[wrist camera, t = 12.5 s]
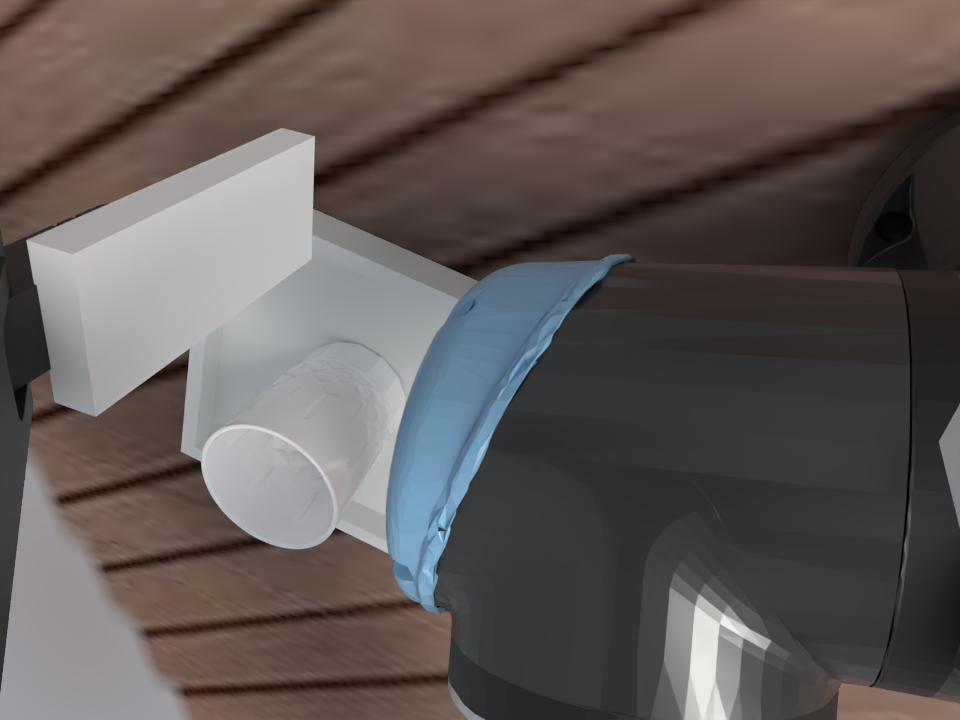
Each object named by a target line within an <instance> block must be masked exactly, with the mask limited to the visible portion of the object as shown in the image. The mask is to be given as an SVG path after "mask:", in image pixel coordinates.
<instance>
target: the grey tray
mask: <svg viewBox="0 0 960 720" xmlns="http://www.w3.org/2000/svg"><path fill="white" fill-rule="evenodd" d="M478 282H479V281H477V280H474V279H472V278H470V277H468V276H465V275H463V274H461V273H459V272H456V271H454V270H452V269H449V268H447V267H445V266H443V265H440V264H438V263H436V262H434V261H431V260H429V259H427V258H424V257H422V256H420V255H418V254H415V253H413V252H411V251H408V250H406V249H404V248H402V247H399V246H397V245H395V244H393V243H390V242H388V241H386V240H383V239H381V238H379V237H377V236H374V235H372V234H370V233H368V232H365V231H363V230H361V229H358V228H356V227H354V226H352V225H349V224H347V223H345V222H342V221H340V220H338V219H336V218H333V217H331V216H329V215H327V214H324V213H322V212H320V211H317V210H315V209H313V223H312V258H311V260H310V261H308V262H307V263H306V264H304V265H303V266H302V267H300V268H299V269H297V270H296V271H295V272H293V273H292V274H291V275H289V276H288V277H287V278H285V279H284V280H282V281H281V282H280V283H278V284H277V285H276V286H274V287H273V288H272V289H270V290H269V291H267V292H266V293H265V294H263V295H262V296H261V297H259V298H258V299H256V300H255V301H254V302H252V303H251V304H250V305H248V306H247V307H246V308H244V309H243V310H241V311H240V312H239V313H237V314H236V315H235V316H233V317H232V318H231V319H229V320H228V321H226V322H225V323H224V324H222V325H221V326H220V327H218V328H217V329H215V330H214V331H213V332H211V333H210V334H209V335H207V336H206V337H205V338H203V339H202V340H200V341H199V342H198V343H196V344H195V345H194V346H192V347H191V348H190V354H189V365H188V376H187V388H186V399H185V410H184V421H183V433H182V444H181V452H183V453H185V454H187V455H189V456H191V457H193V458H195V459H197V460H199V461H201V455H202V450H203V447H204V445H205V443H206V441H207V440H208V438H209V437H210V436H211V435H212V434H213V433H214V432H215V431H217V430H218V429H219V428H220V427H221V426H223V425H224V424H225V423H226V422H227V421H229V420H230V419H231V418H232V417H233V416H235V415H236V414H237V413H238V412H239V411H240V410H242V409H243V408H244V407H245V406H246V405H247V404H249V403H250V402H251V401H252V400H253V399H254V398H256V397H257V396H258V395H259V394H260V393H261V392H263V391H264V390H265V389H266V388H267V387H269V386H270V385H271V384H273V383H274V382H276V381H277V380H278V379H279V378H280V377H281V376H283V375H284V374H285V373H286V372H288V371H289V370H291V369H292V368H294V367H295V366H297V365H299V364H300V363H301V362H302V361H303V360H304V359H305V358H307V357H308V356H309V355H310V354H311V353H312V352H313V351H315V350H316V349H317V348H319V347H322V346H325V345H328V344H331V343H333V342H336V341H339V342H346V343H353V344H360V345H362V346H364V347H365V348H367V349H369V350H371V351H372V352H374V353H376V354H378V355H379V356H381V357H382V358H383V359H384V360H385V361H386V362H387V364H388V365H389V366H390V367H391V368H392V369H393V371H394V372H395V373H396V374H397V375H398V377H399V380H400V383H401V386H402V389H403V392H404V394H405V398H406V400H405V405H406V402H407V398H408V396H409V393H410V390H411V387H412V384H413V382H414V379H415V377H416V374H417V372H418V369H419V367H420V365H421V362H422V360H423V358H424V356H425V354H426V352H427V350H428V348H429V346H430V344H431V342H432V340H433V338H434V336H435V334H436V333H437V331H438V330H440V328H441V327H442V326H443V325H444V323H445V322H446V320H447V318H448V316H449V315H450V313H451V311H452V310H453V308H454V306H455V305H456V303H457V302H458V301H459V300H460V299H461V298H462V297H463V296H464V295H465V294H466V293H467V292H468V291H469V290H470V289H471V288H472V287H473V286H474V285H475V284H476V283H478ZM404 408H405V406H404ZM399 426H400V423H399V425H398V426H397V428H396V429H395V431H394V432H393V434H392V435H391V437H390V438H389V440H388V442H387V444H386V446H385V448H384V451H383V453H382V454H381V456H380V458H379V459H378V461H377V463H376V464H375V465H374V467H373V469H372V471H371V473H370V474H369V476H368V478H367V479H366V481H365V482H364V484H363V486H362V487H361V489H360V490H359V492H358V493H357V495H356V496H355V498H354V499H353V501H352V502H351V504H350V506H349V507H348V509H347V510H346V512H345V513H344V515H343V516H342V518H341V519H340V521H339V523H338V524H337V526H336V527H335V528H337V529H339V530H341V531H344V532H346V533H348V534H350V535H352V536H354V537H356V538H358V539H360V540H362V541H364V542H366V543H368V544H370V545H372V546H374V547H376V548H378V549H380V550H382V551H384V552H386V553H388V549H387V538H386V498H387V488H388V481H389V474H390V467H391V461H392V457H393V452H394V447H395V442H396V437H397V433H398V429H399ZM388 554H389V553H388Z"/></svg>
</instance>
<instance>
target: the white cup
mask: <svg viewBox="0 0 960 720" xmlns="http://www.w3.org/2000/svg"><path fill="white" fill-rule="evenodd" d="M405 400H406V398H405V394H404V392H403V389H402V386H401V383H400V380H399V377H398V375H397V374H396V373H395V372H394V371H393V369H392V368H391V367H390V366H389V365H388V364H387V362H386V361H385V360H384V359H383V358H382V357H381V356H379V355H378V354H376V353H374V352H372V351H371V350H369V349H367V348H365V347H364V346H362V345H360V344H353V343H346V342H339V341H336V342H333V343H331V344H328V345H325V346H322V347H319V348H317V349H316V350H315V351H313V352H312V353H311V354H310V355H309V356H308V357H307V358H305V359H304V360H303V361H302V362H301V363H300V364H299V365H297V366H295V367H294V368H292V369H291V370H289V371H288V372H286V373H285V374H284V375H283V376H281V377H280V378H279V379H278V380H277V381H276V382H274V383H273V384H271V385H270V386H269V387H267V388H266V389H265V390H264V391H263V392H261V393H260V394H259V395H258V396H257V397H256V398H254V399H253V400H252V401H251V402H250V403H249V404H247V405H246V406H245V407H244V408H243V409H242V410H240V411H239V412H238V413H237V414H236V415H235V416H233V417H232V418H231V419H230V420H229V421H227V422H226V423H225V424H224V425H223V426H221V427H220V428H219V429H218V430H217V431H215V432H214V433H213V434H212V435H211V436H210V437H209V438H208V440H207V441H206V443H205V445H204V447H203V450H202V455H201V468H202V474H203V478H204V481H205V484H206V486H207V488H208V490H209V492H210V494H211V496H212V497H213V499H214V501H215V502H216V503H217V505H218V506H219V507H220V509H221V510H222V511H223V512H224V513H225V514H226V515H227V516H228V517H229V518H230V519H231V520H232V521H233V522H234V523H235V524H236V525H237V526H239V527H240V528H241V529H243V530H244V531H246V532H247V533H249V534H250V535H252V536H254V537H255V538H257V539H259V540H261V541H264V542H266V543H268V544H271V545H274V546H278V547H282V548H288V549H305V548H310V547H314V546H316V545H318V544H320V543H322V542H323V541H325V540H326V539H327V538H328V537H329V536H330V535H331V534H332V532H333V530H334V529H335V527H336V526H337V524H338V523H339V521H340V519H341V518H342V516H343V515H344V513H345V512H346V510H347V509H348V507H349V506H350V504H351V502H352V501H353V499H354V498H355V496H356V495H357V493H358V492H359V490H360V489H361V487H362V486H363V484H364V482H365V481H366V479H367V478H368V476H369V474H370V473H371V471H372V469H373V467H374V465H375V464H376V463H377V461H378V459H379V458H380V456H381V454H382V453H383V451H384V448H385V446H386V444H387V442H388V440H389V438H390V437H391V435H392V434H393V432H394V431H395V429H396V428H397V426H398V425H399V423H400V422H401V418H402V414H403V411H404V406H405Z"/></svg>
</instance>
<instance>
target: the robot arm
mask: <svg viewBox="0 0 960 720" xmlns="http://www.w3.org/2000/svg"><path fill="white" fill-rule="evenodd" d="M314 151H315V136H311V135H307V134H303V133H299V132H296V131H292V130H288V129H284V128H280V129H278V130H276V131H273V132H271V133H269V134H267V135H264V136H262V137H260V138H258V139H255V140H253V141H251V142H248V143H246V144H244V145H242V146H239V147H237V148H235V149H232V150H230V151H228V152H226V153H223V154H221V155H219V156H217V157H214V158H212V159H210V160H207V161H205V162H203V163H201V164H198V165H196V166H194V167H192V168H189V169H187V170H185V171H182V172H180V173H178V174H176V175H173V176H171V177H169V178H167V179H164V180H162V181H160V182H157V183H155V184H153V185H151V186H148V187H146V188H144V189H142V190H139V191H137V192H135V193H132V194H130V195H128V196H126V197H123V198H121V199H119V200H116V201H114V202H112V203H108V204H103V205H99V206H96V207H94V208H92V209H89V210H87V211H85V212H82V213H80V214H78V215H76V218H72V217H71V218H69V219H66V220H64V221H62V222H60V223H57V226H56V227H55V226H50V227H48V228H46V229H43V230H41V231H39V232H37V233H34V234H32V235H30V236H27V237H25V238H23V239H20V240H18V241H16V242H14V243H11V244H9V245H7V246H4V247H3V242H2V237H1V232H0V690H1V681H2V672H3V664H4V655H5V646H6V637H7V628H8V620H9V611H10V601H11V593H12V585H13V576H14V567H15V558H16V550H17V541H18V532H19V523H20V514H21V506H22V497H23V487H24V480H25V471H26V462H27V453H28V445H29V436H30V427H31V418H32V409H33V398H32V393H31V388H30V382H31V381H32V380H34V379H35V378H37V377H39V376H40V375H42V374H43V373H45V372H47V371H48V370H49V372H50V378H51V384H52V389H53V395H54V401H55V403H58V404H61V405H64V406H67V407H69V408H72V409H75V410H78V411H80V412H83V413H86V414H89V415H92V416H94V417H97V416H98V415H99V414H101V413H102V412H103V411H105V410H106V409H108V408H109V407H110V406H112V405H113V404H114V403H116V402H117V401H118V400H120V399H121V398H123V397H124V396H125V395H127V394H128V393H129V392H131V391H132V390H133V389H135V388H136V387H138V386H139V385H140V384H142V383H143V382H144V381H146V380H147V379H149V378H150V377H151V376H153V375H154V374H155V373H157V372H158V371H159V370H161V369H162V368H164V367H165V366H166V365H168V364H169V363H170V362H172V361H173V360H174V359H176V358H177V357H179V356H180V355H181V354H183V353H184V352H185V351H187V350H188V349H190V348H191V347H192V346H194V345H195V344H196V343H198V342H199V341H200V340H202V339H203V338H205V337H206V336H207V335H209V334H210V333H211V332H213V331H214V330H215V329H217V328H218V327H220V326H221V325H222V324H224V323H225V322H226V321H228V320H229V319H231V318H232V317H233V316H235V315H236V314H237V313H239V312H240V311H241V310H243V309H244V308H246V307H247V306H248V305H250V304H251V303H252V302H254V301H255V300H256V299H258V298H259V297H261V296H262V295H263V294H265V293H266V292H267V291H269V290H270V289H272V288H273V287H274V286H276V285H277V284H278V283H280V282H281V281H282V280H284V279H285V278H287V277H288V276H289V275H291V274H292V273H293V272H295V271H296V270H297V269H299V268H300V267H302V266H303V265H304V264H306V263H307V262H308V261H310V260H311V258H312V223H313V187H314ZM386 538H387V549H388V553H389V555H390V556H391V558H392V559H394V560H395V561H394V565H393V569H392V571H393V574H394V576H395V579H396V581H397V584H398V586H399V588H400V589H401V590H402V592H403V593H404V594H405V595H406V596H408V597H409V598H410V599H412V600H413V601H415V602H418V603H420V604H421V605H422V606H423V607H424V608H425V609H426V610H427V611H428V612H433V613H439V614H441V613H442V612H450V614H451V617H452V627H451V631H452V632H451V645H450V658H449V670H448V688H449V692H450V695H451V698H452V700H453V701H454V703H455V705H456V706H457V708H458V709H459V710H460V711H461V712H462V713H463V715H464V716H465V717H466V718H467V719H468V720H836V718H837V704H838V690H839V688H840V685H841V683H846V684H854V685H862V686H869V687H876V688H881V689H886V690H892V691H897V692H903V693H908V694H913V695H919V696H924V697H929V698H934V699H939V700H945V701H951V702H956V703H960V109H959V110H958V111H956V112H954V113H953V114H951V115H949V116H948V117H946V118H944V119H943V120H941V121H940V122H938V123H937V124H936V125H934V126H933V127H931V128H930V129H929V130H927V131H926V132H925V133H923V134H922V135H921V136H920V137H918V138H917V139H916V140H915V141H914V142H913V143H912V144H910V145H909V146H908V147H907V148H906V149H905V150H904V151H903V152H902V153H901V154H900V155H899V156H898V157H897V158H896V159H895V160H894V161H893V163H892V164H891V165H890V166H889V167H888V168H887V170H886V171H885V172H884V173H883V175H882V176H881V177H880V179H879V180H878V181H877V183H876V185H875V186H874V188H873V189H872V191H871V192H870V194H869V196H868V198H867V199H866V201H865V203H864V205H863V207H862V209H861V211H860V214H859V216H858V218H857V221H856V224H855V227H854V230H853V233H852V237H851V241H850V246H849V251H848V261H847V267H825V266H778V265H731V264H684V263H638V262H637V260H636V259H634V258H632V257H631V256H630V255H629V254H615V255H609V256H607V257H605V258H603V259H601V260H600V261H566V262H530V263H521V264H515V265H510V266H507V267H504V268H501V269H499V270H497V271H495V272H493V273H491V274H489V275H488V276H486V277H485V278H483V279H482V280H481V281H479V282H478V283H476V284H475V285H474V286H473V287H472V288H471V289H470V290H469V291H468V292H467V293H466V294H465V295H464V296H463V297H462V298H461V299H460V300H459V301H458V302H457V303H456V305H455V306H454V308H453V310H452V311H451V313H450V315H449V316H448V318H447V320H446V322H445V323H444V325H443V326H442V327H441V328H440V330H438V331H437V333H436V334H435V336H434V338H433V340H432V342H431V344H430V346H429V348H428V350H427V352H426V354H425V356H424V358H423V360H422V362H421V365H420V367H419V369H418V372H417V374H416V377H415V379H414V382H413V384H412V387H411V390H410V393H409V396H408V398H407V402H406V405H405V408H404V411H403V414H402V418H401V422H400V426H399V429H398V433H397V437H396V442H395V447H394V452H393V457H392V461H391V467H390V474H389V481H388V488H387V498H386Z"/></svg>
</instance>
